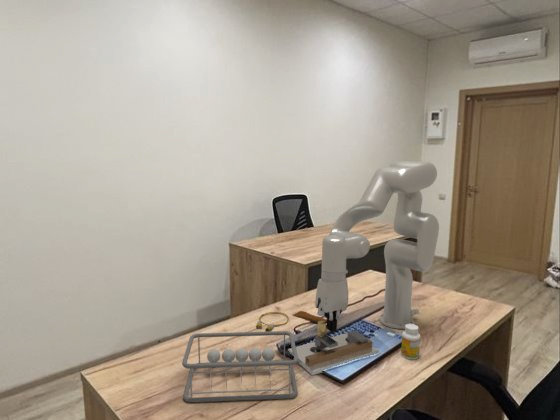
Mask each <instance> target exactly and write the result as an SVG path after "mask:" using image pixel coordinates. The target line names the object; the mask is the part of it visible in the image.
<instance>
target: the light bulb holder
mask: <svg viewBox="0 0 560 420" xmlns="http://www.w3.org/2000/svg"><path fill="white" fill-rule="evenodd" d="M316 328H317V330H316V332H317V333H316V335H315V336H314V342H315V346H317V347H318V348H319V349H323V348H327V347H329V348H332V347H335V346H338V342H336V341H335V340H333V339H332V338H331V336H329V335H328V334H327V327H326V321H318V324H317V327H316Z"/></svg>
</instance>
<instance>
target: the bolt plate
mask: <svg viewBox="0 0 560 420" xmlns="http://www.w3.org/2000/svg"><path fill="white" fill-rule="evenodd" d="M330 337H331V336H330ZM331 338H332V339H333V340H335V341H336V342H338V346H335V347H332V348H329V347H327V348H323V349H319V348H318V347H317V346H315V341H312V342H310V343H309V342H308V343H304V344H302V345H297V346H296V350H297V355H298V362H297V363H298V364H299V365H300V366H301V367H302V368H304V369H305V370H306V371H307V373H309V374H310V375H311V376H314V375H315V376H316V375H318V374H322V373H323V372H322V371H323V370H325V369H328V368H331V367H333V366H337V365H340V364H343V363H347V362H349V361H352V360H355V359H359V358H363V357H367V356H370V355H374V354H377V353H380V352H379V351H380V350H379V349H378V348H376V347H374V346H373V341H372V340H371V339H369V338H367V337H366V336H364V335H363V334H361V333H359V332H358V331H357V330H352V331H347V333H343V334H339V335H336V336H335V335H334V336H332V337H331ZM288 351H289V352H290V353H291V354H292V355H293V351H292V347H291V348H287V352H288Z"/></svg>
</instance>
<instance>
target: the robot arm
mask: <svg viewBox="0 0 560 420" xmlns="http://www.w3.org/2000/svg"><path fill="white" fill-rule="evenodd" d="M437 176H438V170H437V167H436V166H435V164H433V163H431V162H428V161H417V160H416V161H415V160H413V161H412V160H397V161H393V162H392V163H391V164H390V165H389V166H381V167H379V168H377V169H376V171H375V172H374V173H373V176H372V177H371V180H370V181H369V182H368V185H367V187H366V188H365V190H364V192H363V194H362V195H361V198H360V199H359V201H358V202H356V203H355V204H353V205H352V206H350V207H349V208H347V210H345V211H344V212H343V213H342V214H340V216H338V218H337V219H336V221H335V222H334V224H333V226H332V227H331V229H330V232H329V234H328V235H327V236H324V237H323V239H322V241H321V242H322V248H321V251H322V252H321V278H319V279H318V281H317V286H316V292H315V301H314V302H315V305H314V306H315V308H316V309H317V312H316V314H317V315H318V317H325V319H327V325H326V330H328V331H329V332H330V333H334V332H337V327H338V319H340V315H341V314H342V313H343V312H345V311H347V310H348V306H349V285H348V279H347V278H346V277H347V276H346V274H348V273H349V271H348V269H347V259H360V258H361V259H362V258H363V257H365V256H367V254H368V253H369V251H370V248H371V243H370V241H369V239H368V237H366V236H364V235H363V234H360V233H359V234H358V233H354V232H352V231H351V230H352V229H353V228H354V227H355V226H356V225H357V224H359V223H361V222H363V221H367V220H371V219H374V218H378V217H380V216H382V214H384V211H385V209H386V207H387V206H388V204H389V202H390V200H391V198H392V197H393V194H394V193H395V194H397V201H396V207H395V214H394V218H393V231H394V232H395V233H396V234H397V235H399V236H403V237H407V238H411V239H416V240H417V241H416V242H414V241H411V240H406V239H402V238H392V239H390V240H388V241H387V242H386V244H385V246H384V248H383V256H384V263H385V286H384V301H383V302H384V304H383V307H384V308H383V313H381V314H380V315H379V319H378V321H379V322H380V323H381V324H382V325H383V326H386V327H388V328H391V329H398V330H405V325H406V324H414V325H415V320H414V318H413V316H414V315H418V314H419V313H420V310H419V309H418V308H414V309H412V297H413V296H412V292H413V280H414V279H413V274H412V271H411V270H414V271H417V272H423V273H424V272H427V271H428V270H430V268H431V267H432V265H433V262H434V259H435V254H436V249H437V243H438V237H439V234H440V233H439V230H440V224H439V223H440V222H439V220H438V218H437V217H436V216H435V215H434V214H431V213H428V212H422V205H423V195H422V192H421V190H424V189H426V188H429V187H431V186H432V185H433V184H434V183H435V181H436V179H437Z"/></svg>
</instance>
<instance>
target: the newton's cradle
mask: <svg viewBox="0 0 560 420" xmlns="http://www.w3.org/2000/svg"><path fill="white" fill-rule="evenodd" d="M258 336H260V337H261V336H262V337H264V336H283V359H279V360H277V359H276V360H275V359H274V358H275V356H276V353H275V351H274V349H273V348H271V347H265V348H264V349H263V350H260V348H257V347H253V348H251V349H250V350H249V352H248V351H247V349H246V348H238V349H237V351H234V350H233V349H230V348H226V349H225V350H223V352H222V355H221V352H220V351H219V350H218V349H213V348H212V349H210V350H209V351H208V353H207V355H206V358H207V361H208V362H201V352H200V351H201V349H200V348H201V346H200V345H201V344H200V341H201V340H200V338H222V337H223V338H227V337H229V338H230V337H231V338H232V337H258ZM286 336H288V337H289V341H290V345H291V348H292V351H293V356H294V358H293V359H292V360H287V359H286ZM196 338H197V342H198V343H197V346H198V347H197V348H198V362H196V363H188V360H189V356H190V353H191V349H192V346H193V342H194V339H196ZM296 347H297V346H296V343H295V337H294V334H293V333H292V332H290V331H288V330H287V331H286V330H282V331H281V330H277V331H275V330H273V331H272V330H271V331H267V332H266V331H241V332H239V331H238V332H236V331H235V332H207V333H206V332H203V333H201V332H200V333H193V334H192V335H191V336H190V337H189V340H188V343H187V345H186V349H185V353H184V355H183V358H182V362H181V365H182V367H183V368H185V369H189V373H188V376H187V380H186V385H185V388H184V391H183V396H182V397H183V400H184V401H185V402H187V403H206V402H207V403H208V402H211V403H212V402H235V401H237V402H239V401H256V400H257V401H258V400H259V401H261V400H283V399H285V400H286V399H293V398H296V397H297V396H298V393H299V391H298V390H299V389H298V386H297V380H296V375H295V370H294V365H296V364H297V363H298V355H297V350H296ZM220 358H222V360H223V361H221V362H220V361H219V360H220ZM234 359H236V360H237V361H234ZM248 359H250V360H248ZM261 359H263V360H261ZM275 366H277V367H278V366H288V368H272V369H271V367H275ZM245 367H247V368H248V367H249V368H251V367H253V368H254V369H245V370H244V369H243V368H245ZM257 367H268V369H267V368H266V369H257ZM215 368H216V369H218V368H220V369H221V368H225V370H218V371H217V370H216V371H215V370H214V369H215ZM229 368H240V370H229ZM195 369H210V371H195ZM242 369H243V370H242ZM279 371H282V372H283V371H289V372H288V375H289V376H288V388H274V389H273V388H272V382H269V387H270V389H247V390H246V389H245V390H243V389H240V390H227V387H228V386H227V385H228V379H225V390H221V391H220V390H218V391H193V382H192V381H193V376H194V375H195V374H196V375H198V374H210V377H214V376H213V374H216V373H217V374H222V373H225V374H226V375H228V374H229V373H240V383H242V380H243V379H242V378H243V377H242V375H243V373H250V372H251V373H255V375H254V378H255V379H254V380H255V381H254V383H255V384H254V385H255V387H257V372H268V373H269V377H271V372H279ZM291 383H292V384H291ZM212 387H213V380H210V390H212ZM291 387H292V388H291ZM291 389H292V390H293V392H292V391H291ZM273 391H274V392H275V391H277V392H278V391H289V392H288V393H276V394H275V393H273V394H271V393H270V394H248V395H226V396H225V395H223V396H199V397H197V396H196V397H193V395H200V394H201V395H203V394H225V393H226V394H227V393H228V394H229V393H253V392H255V393H256V392H273ZM291 392H292V393H291ZM189 393H190V397H189Z"/></svg>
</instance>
